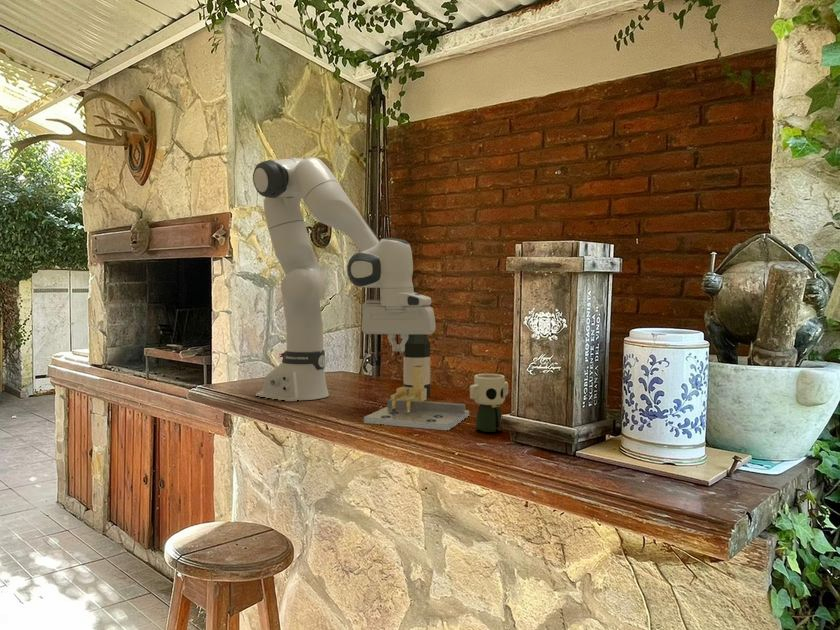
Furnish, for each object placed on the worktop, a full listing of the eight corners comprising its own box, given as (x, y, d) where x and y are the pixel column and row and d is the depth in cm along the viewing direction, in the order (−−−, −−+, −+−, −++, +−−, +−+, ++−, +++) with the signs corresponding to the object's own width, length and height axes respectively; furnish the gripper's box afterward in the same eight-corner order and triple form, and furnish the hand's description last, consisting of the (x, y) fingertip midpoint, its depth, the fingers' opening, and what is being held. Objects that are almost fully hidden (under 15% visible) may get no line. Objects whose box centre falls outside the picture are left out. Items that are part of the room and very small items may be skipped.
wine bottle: (435, 397, 184) (435, 299, 182) (413, 400, 179) (412, 299, 178) (420, 393, 190) (420, 298, 189) (398, 396, 186) (397, 298, 184)
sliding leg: (402, 412, 152) (401, 369, 152) (416, 405, 161) (416, 365, 161) (413, 413, 151) (413, 370, 150) (426, 406, 160) (426, 365, 159)
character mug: (479, 437, 135) (479, 379, 134) (461, 430, 141) (461, 375, 140) (517, 431, 140) (517, 375, 140) (498, 425, 146) (498, 372, 146)
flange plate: (364, 423, 149) (363, 395, 149) (391, 410, 165) (391, 385, 164) (448, 430, 141) (448, 401, 141) (469, 416, 157) (469, 390, 156)
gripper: (356, 300, 160) (358, 352, 161) (428, 298, 153) (429, 353, 153) (367, 299, 166) (368, 349, 167) (437, 298, 159) (438, 350, 159)
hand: (398, 351), depth 160 cm, fingers closed
